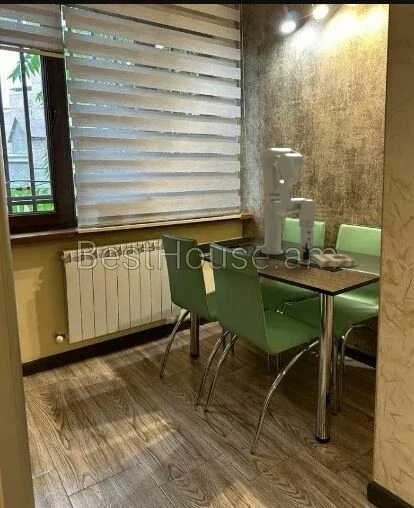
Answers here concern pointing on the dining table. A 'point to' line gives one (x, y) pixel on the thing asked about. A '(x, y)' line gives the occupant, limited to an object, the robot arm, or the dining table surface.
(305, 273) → the dining table surface
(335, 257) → the socket board
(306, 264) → the bobbin
